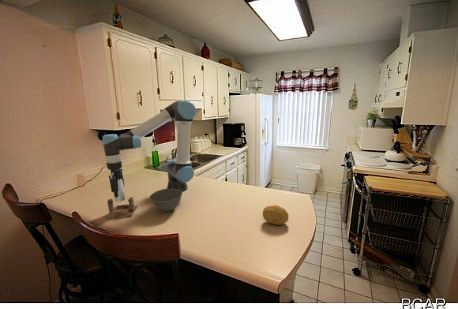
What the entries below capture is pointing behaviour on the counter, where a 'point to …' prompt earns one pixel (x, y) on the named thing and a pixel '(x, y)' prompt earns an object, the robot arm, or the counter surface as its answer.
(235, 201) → the counter surface
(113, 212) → the stand
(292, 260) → the counter surface
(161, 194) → the bowl
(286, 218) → the potato
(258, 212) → the counter surface
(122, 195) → the roll
